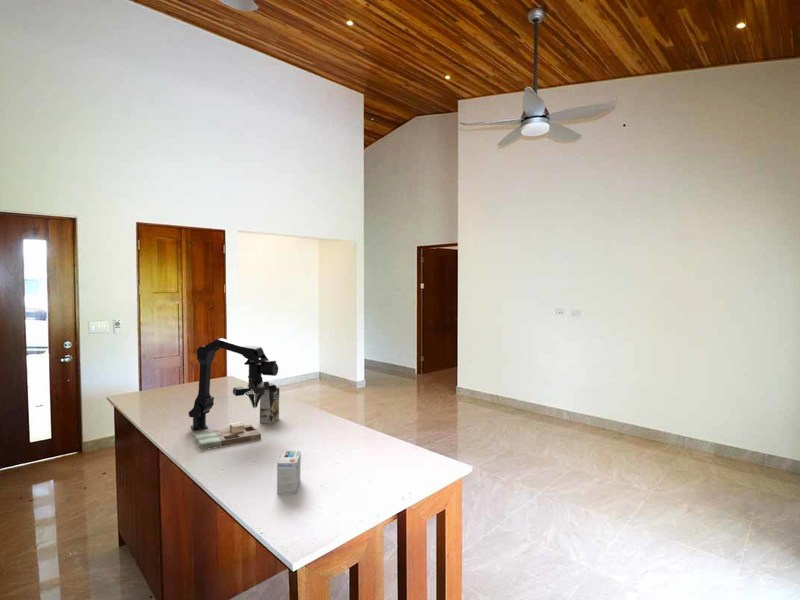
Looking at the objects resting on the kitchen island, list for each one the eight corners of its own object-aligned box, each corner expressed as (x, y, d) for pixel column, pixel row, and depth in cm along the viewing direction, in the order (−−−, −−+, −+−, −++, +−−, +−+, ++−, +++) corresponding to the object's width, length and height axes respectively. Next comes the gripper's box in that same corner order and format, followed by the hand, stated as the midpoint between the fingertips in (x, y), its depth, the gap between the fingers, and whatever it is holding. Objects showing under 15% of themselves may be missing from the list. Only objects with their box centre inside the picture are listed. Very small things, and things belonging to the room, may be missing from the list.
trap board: (194, 439, 199) (194, 433, 199) (250, 429, 213) (251, 424, 213) (201, 450, 187) (201, 444, 187) (260, 439, 201) (260, 433, 201)
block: (229, 430, 205) (229, 423, 205) (240, 428, 208) (241, 421, 207) (232, 433, 201) (232, 426, 200) (244, 431, 203) (244, 424, 203)
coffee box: (271, 423, 222) (271, 391, 222) (259, 422, 224) (259, 390, 223) (279, 418, 231) (280, 387, 231) (268, 417, 233) (268, 386, 232)
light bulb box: (281, 479, 162) (282, 450, 161) (300, 479, 162) (301, 450, 162) (276, 494, 151) (276, 462, 150) (296, 493, 152) (297, 462, 151)
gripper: (239, 380, 196) (239, 415, 196) (280, 375, 206) (280, 409, 207) (232, 375, 205) (232, 408, 205) (272, 371, 215) (272, 403, 216)
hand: (254, 407), depth 208 cm, fingers closed
